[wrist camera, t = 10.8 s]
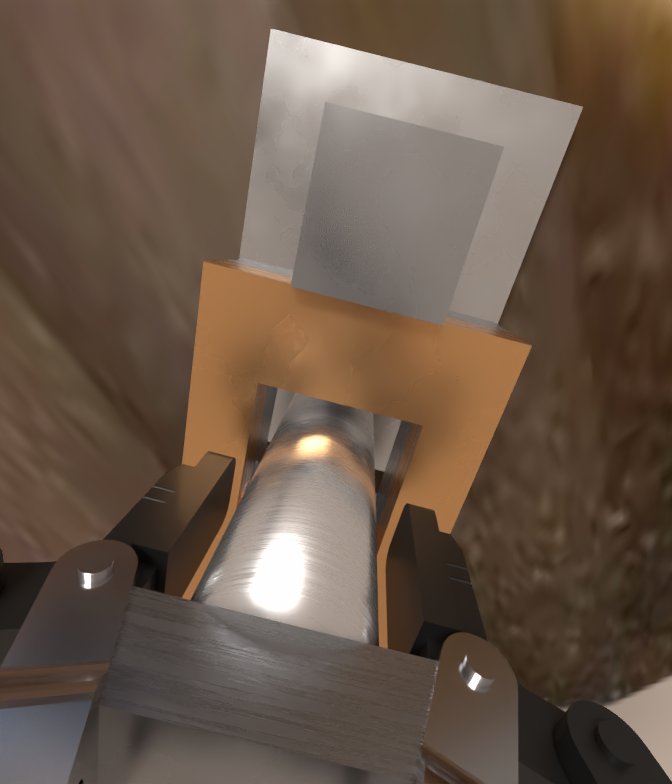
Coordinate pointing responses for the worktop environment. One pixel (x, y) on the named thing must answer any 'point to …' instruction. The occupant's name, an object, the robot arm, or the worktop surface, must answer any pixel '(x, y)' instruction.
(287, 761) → the pin
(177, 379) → the worktop surface
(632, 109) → the worktop surface
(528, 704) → the robot arm
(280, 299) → the latch clamp bracket
